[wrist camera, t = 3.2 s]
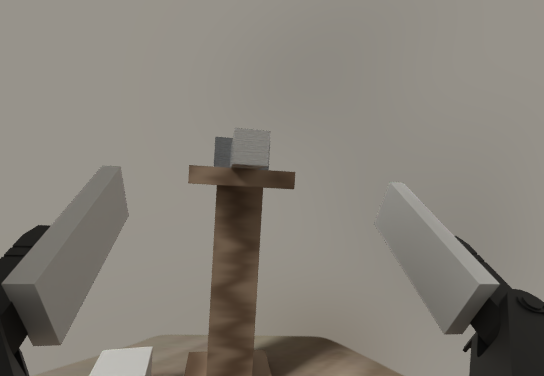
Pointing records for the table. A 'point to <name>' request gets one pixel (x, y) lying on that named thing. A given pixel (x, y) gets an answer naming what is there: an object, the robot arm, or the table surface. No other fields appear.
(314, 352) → the table surface
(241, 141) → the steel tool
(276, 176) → the shelf post
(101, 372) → the white cube
